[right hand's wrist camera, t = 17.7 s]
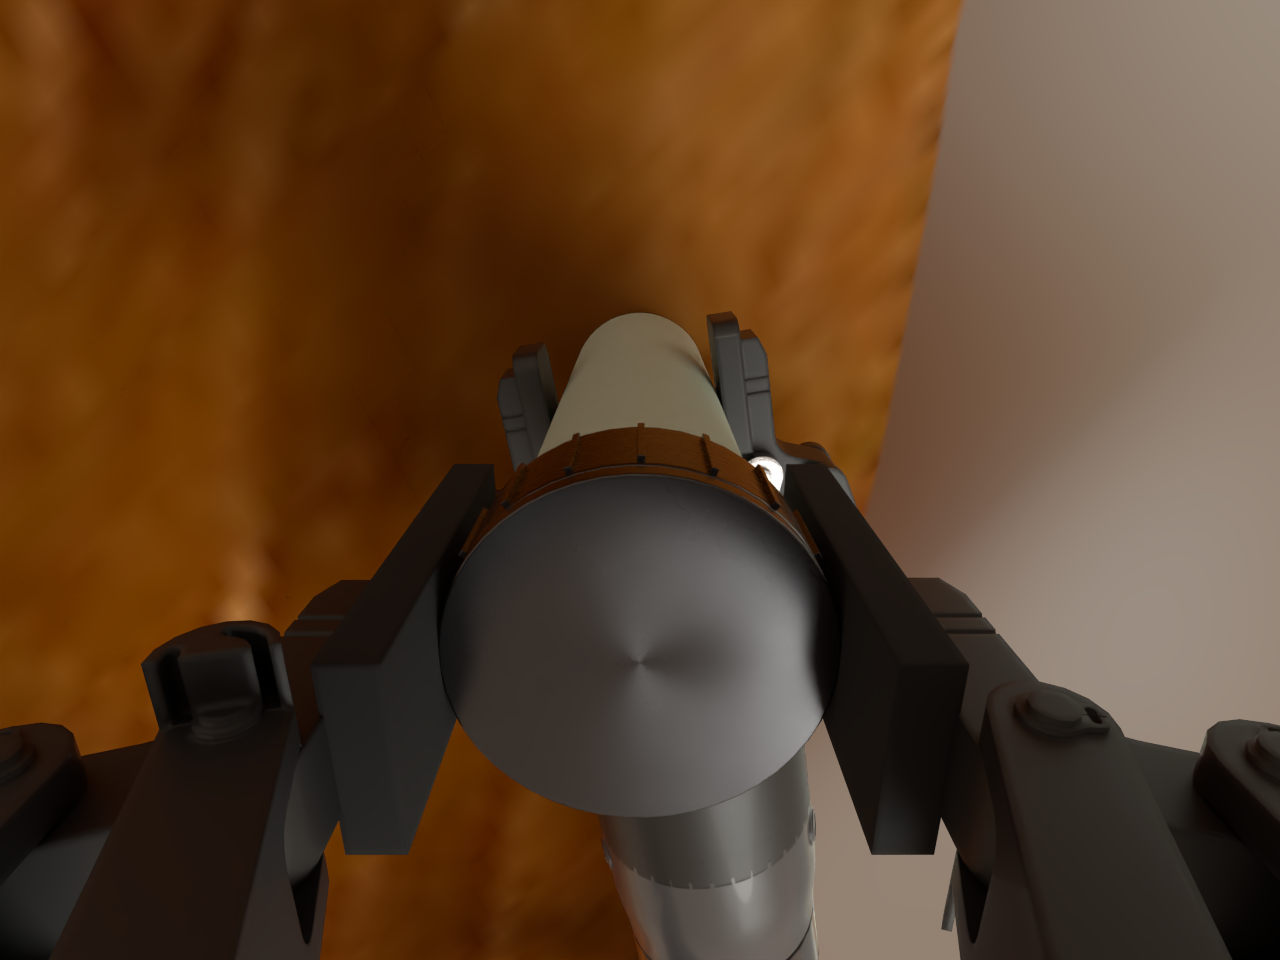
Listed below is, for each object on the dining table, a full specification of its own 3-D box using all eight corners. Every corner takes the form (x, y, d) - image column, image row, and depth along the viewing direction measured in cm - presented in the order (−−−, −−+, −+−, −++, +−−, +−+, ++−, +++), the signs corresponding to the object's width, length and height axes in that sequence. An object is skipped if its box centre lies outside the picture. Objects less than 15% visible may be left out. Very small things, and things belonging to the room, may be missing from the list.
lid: (430, 673, 13) (390, 761, 11) (527, 367, 11) (502, 405, 9) (729, 764, 13) (745, 862, 11) (871, 491, 12) (921, 552, 10)
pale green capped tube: (577, 308, 26) (474, 477, 10) (709, 316, 26) (823, 494, 10) (574, 435, 28) (481, 757, 12) (698, 442, 28) (780, 771, 12)
